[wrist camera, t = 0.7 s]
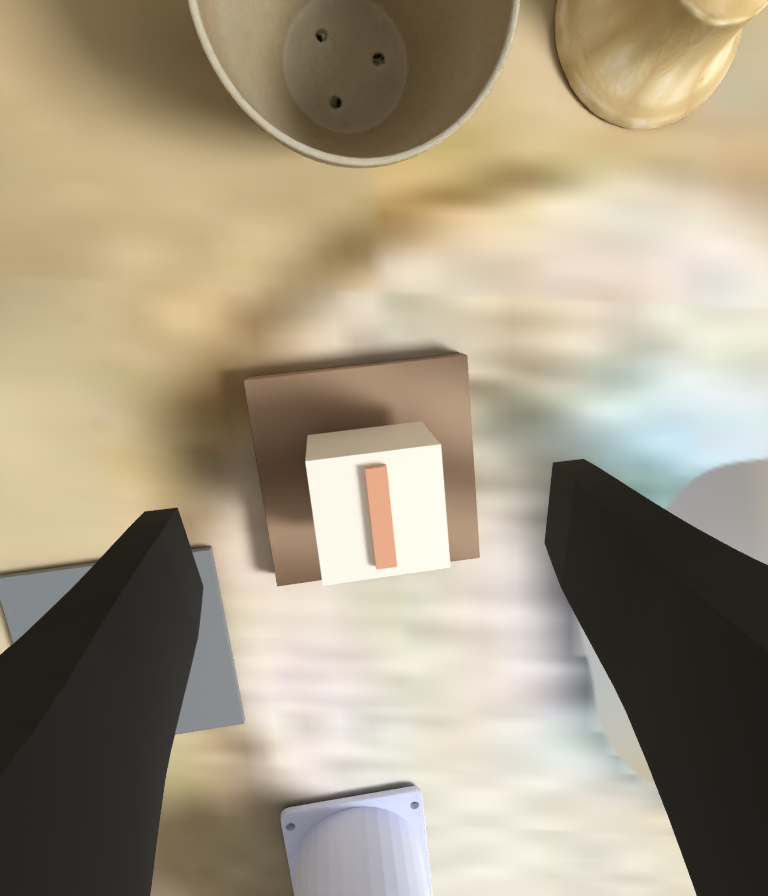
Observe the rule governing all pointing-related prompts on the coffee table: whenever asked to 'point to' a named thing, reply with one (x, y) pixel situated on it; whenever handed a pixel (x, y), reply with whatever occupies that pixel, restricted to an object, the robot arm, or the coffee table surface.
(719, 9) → the hand bell
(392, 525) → the cream cube
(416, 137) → the flower pot
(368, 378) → the post stand
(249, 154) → the coffee table surface
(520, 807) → the coffee table surface
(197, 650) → the mat
